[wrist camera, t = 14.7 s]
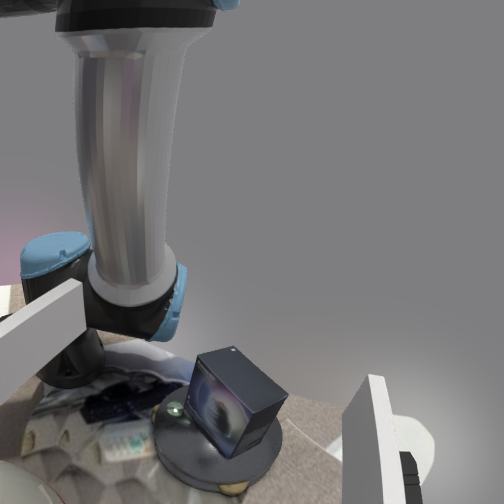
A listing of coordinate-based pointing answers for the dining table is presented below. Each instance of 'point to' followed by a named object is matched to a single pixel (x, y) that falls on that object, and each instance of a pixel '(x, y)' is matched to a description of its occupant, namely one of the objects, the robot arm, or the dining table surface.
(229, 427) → the small box
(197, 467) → the plate
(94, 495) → the dining table surface
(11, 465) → the kitchen timer
